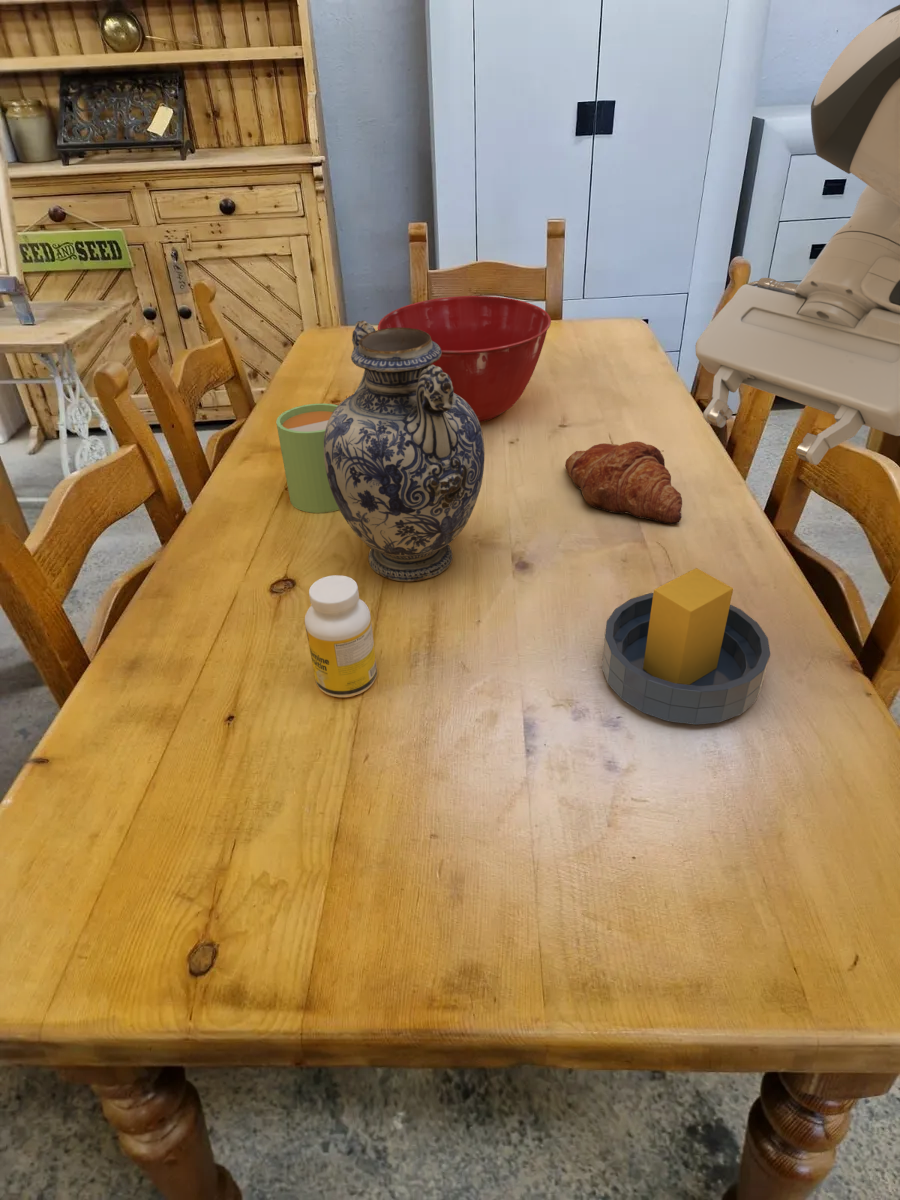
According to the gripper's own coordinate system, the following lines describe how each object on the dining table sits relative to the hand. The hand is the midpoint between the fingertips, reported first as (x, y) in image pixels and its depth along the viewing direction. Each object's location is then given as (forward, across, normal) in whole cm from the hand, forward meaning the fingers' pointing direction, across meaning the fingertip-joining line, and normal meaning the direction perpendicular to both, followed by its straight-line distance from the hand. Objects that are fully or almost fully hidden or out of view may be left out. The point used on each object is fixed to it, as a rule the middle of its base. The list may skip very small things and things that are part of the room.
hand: (756, 440), depth 67 cm
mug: (+28, -60, +9) cm, 66 cm away
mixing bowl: (+3, -71, +33) cm, 79 cm away
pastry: (+5, -32, +32) cm, 45 cm away
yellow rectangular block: (+20, -1, +15) cm, 25 cm away
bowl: (+20, -1, +16) cm, 26 cm away
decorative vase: (+27, -37, +9) cm, 46 cm away
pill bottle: (+40, -22, -4) cm, 45 cm away
